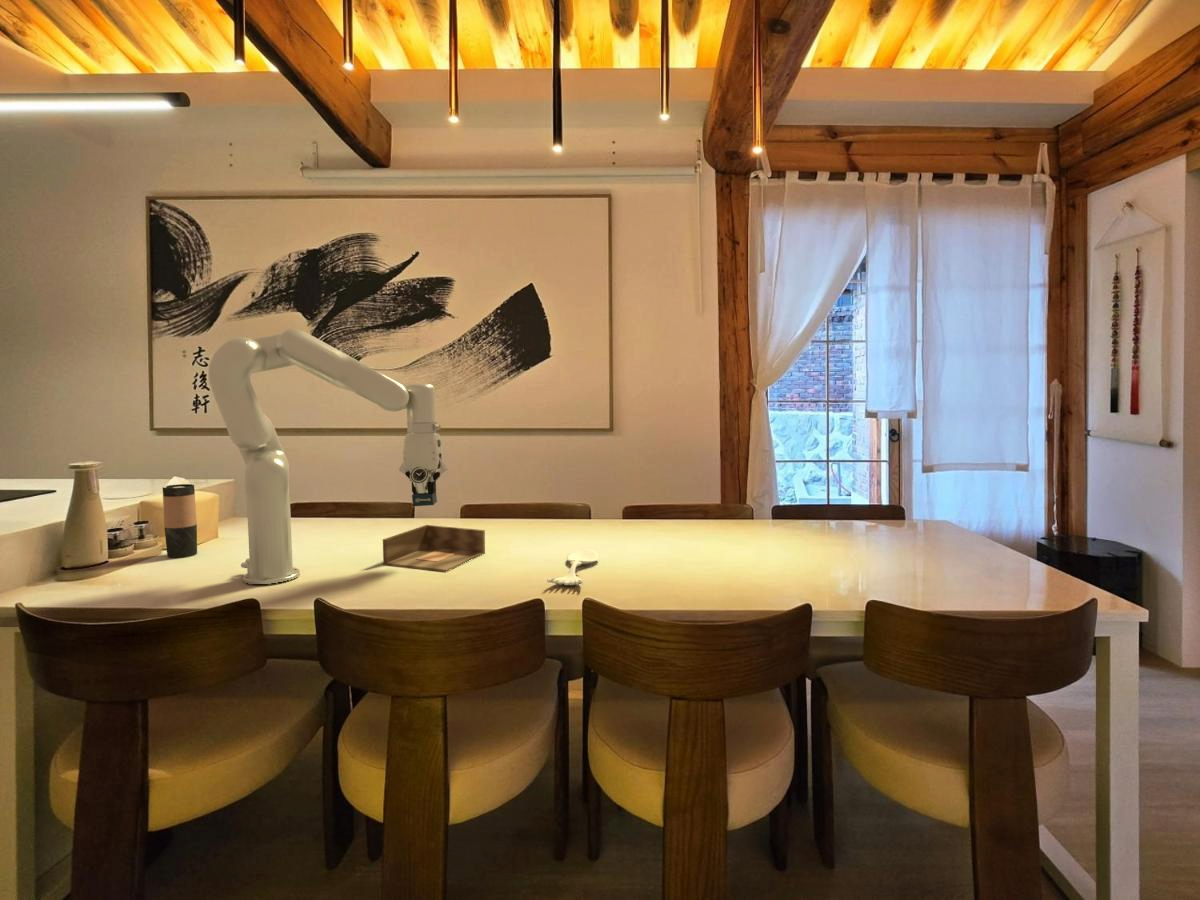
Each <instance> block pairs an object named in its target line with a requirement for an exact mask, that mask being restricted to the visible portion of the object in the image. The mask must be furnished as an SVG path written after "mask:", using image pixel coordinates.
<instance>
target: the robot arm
mask: <svg viewBox="0 0 1200 900" xmlns="http://www.w3.org/2000/svg"><path fill="white" fill-rule="evenodd" d="M209 362H210V363H209V366H208V382H209V386H210V389H211V392H212V394H213V396H214V397H213V398H214V399H215V401H216V405H217V407H218V410H219V412H220V416H221V417H222V419H223V422H224V424H225V426H226V427H225V428H226V430H227V433H228V436H229V438H230V440H231V442H232V443H233V444H234V445H235V446H236V447H238V451H239V452H240V455H241V457H242V459H243V461H244V464H245V470H244V486H245V487H244V488H245V497H246V513H247V531H248V533H247V534H248V552H249V554H248V555H249V557H248V558H246V559H245V562H244V561H243V562H241V563H240V567H241V568H242V569H246V570H247V573H245V574H244V575H243V577H242V578H243V579H242V580H243V583H244V584H247V583H248V584H247V585H252V584H268V585H271V584H270V583H276V584H279V583H278V582H282V583H284V582H283V581H286V582H288V581H287V580H289V581H291V580H290V579H292V580H294V578H295V579H296V577H297V578H299V576H300V571H301V570H300V569H299V568H297V567H294V566H293V542H292V541H293V540H292V517H291V498H290V497H291V495H290V471H291V470H290V463H289V459H288V458H287V455H286V452H285V450H284V448H283V445H282V443H281V441H280V438H279V436H278V433H277V432H276V431H277V430H276V428H275V426H274V424H273V422H272V421H271V419H270V418H269V417H268V416H267V415H266V414H265V413H264V411H263V408H262V407H261V404H260V402H259V400H258V397H257V394H256V391H255V390H254V388H253V385H252V382H251V374H256V373H260V372H266V371H271V370H277V369H282V368H286V367H287V368H288V367H292V366H295V367H298V368H300V369H302V370H305V372H308V373H310V374H311V375H313V376H315V377H318V378H319V379H321V380H323V381H325V382H327V383H328V384H331V385H333V386H335V387H337V388H340V389H343V390H346V391H348V392H351V393H354V394H356V395H358V396H360V397H361V398H364V399H366V400H368V401H369V402H371V403H373V404H375V405H378V407H380V408H381V409H382V410H384V411H388V412H393V413H396V412H400V411H402V410H405V409H406V424H407V425H406V426H407V427H406V428H407V429H406V430H407V433H406V434H405V435H404V441H403V452H402V456H403V457H402V459H403V460H402V463H401V465H400V467H399V468H398V470H399V472H401V473H402V474H404V475H405V476H406V477H407V478H408V480H409V481H410V483H411V492H412V495H413V494H417V493H418V492H417V490H416V487H414V484H413V482H412V480H411V477H410V474H411V472H412V470H413V469H414V468H416V467H421V468H425V469H427V470H428V472H429V474H431V476H430V477H429V482H428V483H427V484H428V494H431V493H436V494H437V481H438V479H439V478H440V477H441V476H442V475H443V474H445V473H447V472H448V467H447V466H446V464H445V461H444V451H443V445H442V440H441V435H440V433H437V431H439V430H440V431H441V430H442V429H441V428H442V426H441V425H440V424H437V419H436V418H437V416H436V392H435V387H434V385H432V384H430V383H410V384H401V383H400V382H398V381H396V380H394V379H392V378H390V377H389V376H386V375H385V374H383V373H381V372H380V371H377V370H375V369H373V368H372V367H369V366H368V365H366V364H364V363H362V362H360V361H359V360H357V359H356V358H354V357H353V356H350V355H348V354H347V353H345V352H343V351H341V350H339V349H337V348H335V347H334V346H332V345H330V344H328V343H326V342H324V341H322V340H321V339H319V338H317V337H315V336H313V334H310V333H308V332H306V331H304V330H301V329H299V328H292V327H291V328H287V329H286V330H285V329H284V331H282V332H281V333H280V334H274V335H268V336H264V337H256V338H249V337H246V336H237V337H233V338H230V339H229V340H227V341H225V342H224V343H223V344H222V345H221V346H219V347H218V348H217V350H216V351H215V352H214V354H213V355H212V357H211V359H210V361H209ZM437 470H438V471H437Z"/></svg>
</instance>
